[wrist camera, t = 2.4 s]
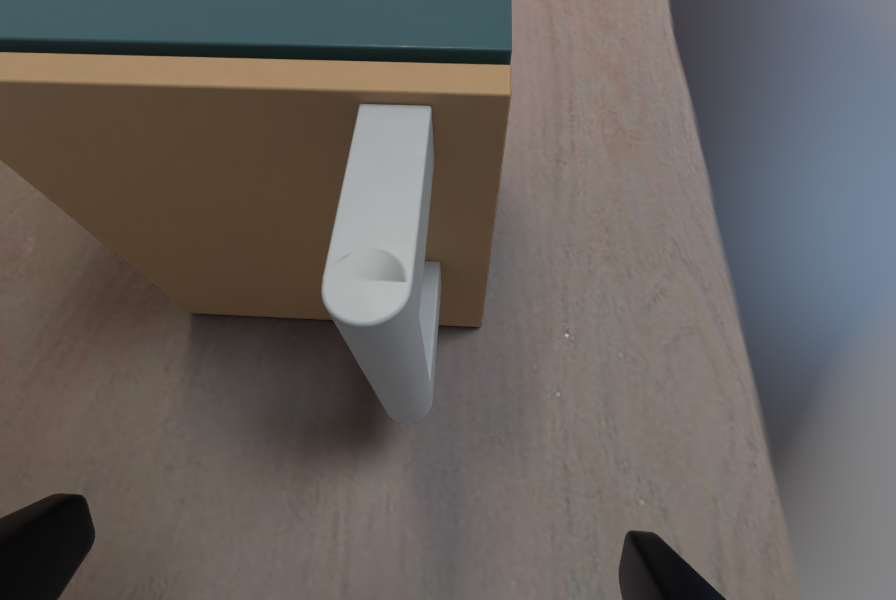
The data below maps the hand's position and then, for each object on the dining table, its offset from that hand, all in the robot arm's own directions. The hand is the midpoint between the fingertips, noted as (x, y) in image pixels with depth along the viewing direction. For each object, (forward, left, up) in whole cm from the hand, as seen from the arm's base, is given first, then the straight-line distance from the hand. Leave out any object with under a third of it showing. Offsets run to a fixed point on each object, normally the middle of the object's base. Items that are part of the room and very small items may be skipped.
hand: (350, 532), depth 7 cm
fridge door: (+6, +4, -10) cm, 13 cm away
